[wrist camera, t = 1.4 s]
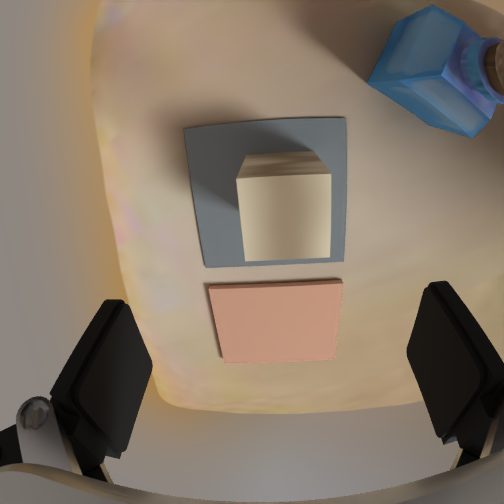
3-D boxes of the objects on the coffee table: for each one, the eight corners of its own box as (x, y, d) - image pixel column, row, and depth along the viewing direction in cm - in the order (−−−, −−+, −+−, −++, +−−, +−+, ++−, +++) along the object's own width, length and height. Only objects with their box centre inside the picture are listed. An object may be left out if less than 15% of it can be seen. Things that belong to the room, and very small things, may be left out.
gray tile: (345, 118, 20) (346, 118, 20) (343, 260, 26) (343, 261, 26) (184, 128, 22) (183, 129, 21) (206, 266, 27) (205, 267, 27)
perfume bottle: (396, 22, 16) (486, -17, 6) (456, 67, 17) (562, 70, 6) (366, 83, 19) (451, 78, 8) (429, 125, 20) (531, 161, 9)
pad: (341, 279, 27) (343, 283, 26) (333, 355, 32) (334, 359, 31) (209, 285, 28) (208, 289, 28) (224, 359, 33) (224, 362, 32)
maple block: (314, 151, 22) (331, 173, 15) (315, 213, 24) (329, 257, 18) (246, 154, 22) (236, 178, 16) (252, 216, 24) (245, 261, 18)
